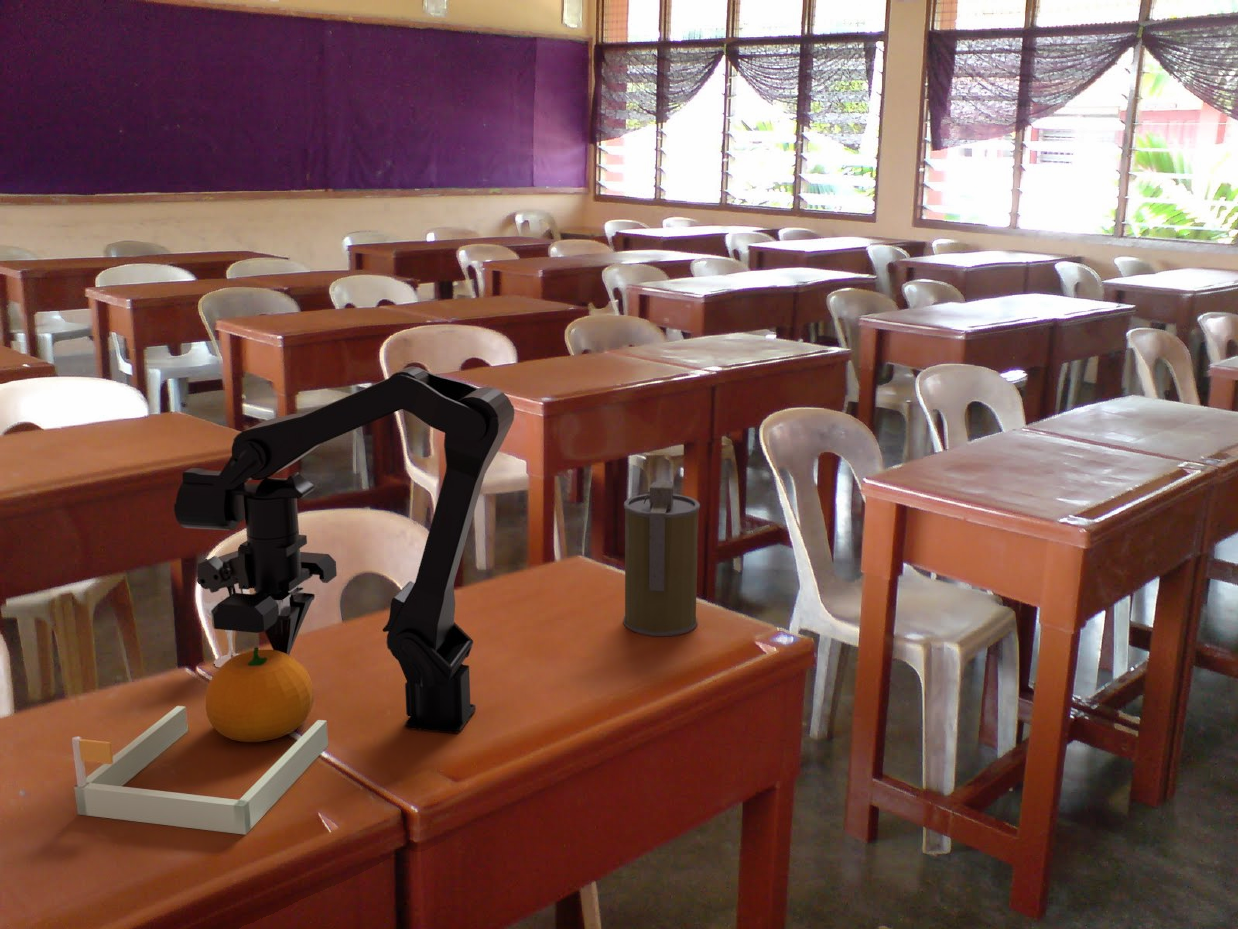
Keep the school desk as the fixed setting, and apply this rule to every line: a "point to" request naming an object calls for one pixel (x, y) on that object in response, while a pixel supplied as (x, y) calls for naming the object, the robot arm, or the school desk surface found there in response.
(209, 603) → the wineglass
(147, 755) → the corral
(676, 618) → the canister
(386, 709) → the school desk surface
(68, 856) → the school desk surface
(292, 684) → the fruit
